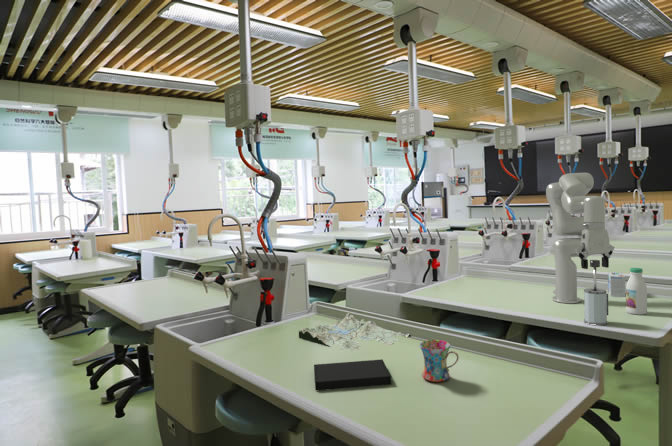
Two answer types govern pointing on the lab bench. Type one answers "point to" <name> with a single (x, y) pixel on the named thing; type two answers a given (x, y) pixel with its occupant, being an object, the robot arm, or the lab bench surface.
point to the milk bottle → (636, 293)
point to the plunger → (595, 264)
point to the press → (595, 306)
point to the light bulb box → (616, 284)
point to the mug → (436, 360)
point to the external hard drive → (351, 374)
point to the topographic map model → (348, 333)
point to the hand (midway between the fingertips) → (594, 267)
